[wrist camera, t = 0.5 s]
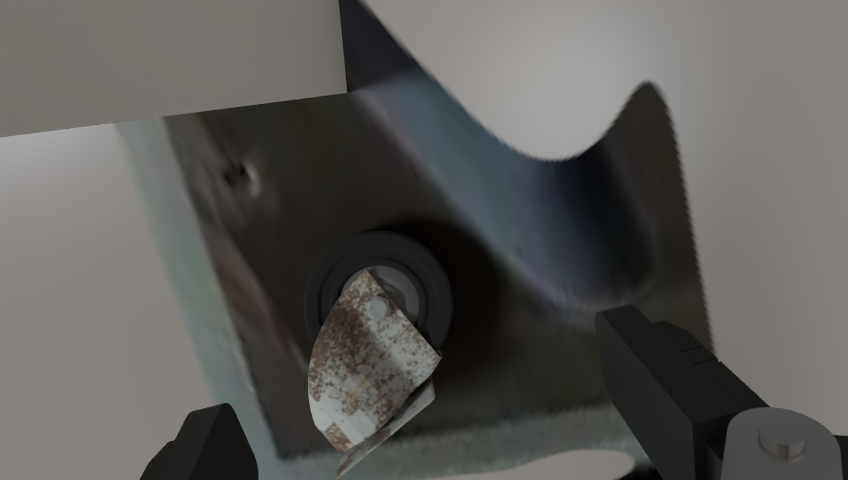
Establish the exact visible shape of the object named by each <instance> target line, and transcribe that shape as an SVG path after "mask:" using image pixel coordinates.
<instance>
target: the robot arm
mask: <svg viewBox="0 0 848 480" xmlns="http://www.w3.org/2000/svg"><path fill="white" fill-rule="evenodd" d="M595 324H596V332H597V339H598V347H599V355H600V362H601V370H602V376H603V380H604V383H605V386H606V389H607V392H608V394H609V396H610V398H611V400H612V402H613V404H614V405H615V407H616V408H617V410H618V411H619V413H620V414H621V416H622V417H623V419H624V420H625V422H626V423H627V425H628V426H629V428H630V430H631V431H632V433H633V434H634V436H635V437H636V439H637V440H638V442H639V443H640V445H641V446H642V448H643V449H644V451H645V452H646V454H647V455H648V457H649V459H650V460H651V462H652V463H653V465H654V466H655V468H656V469H657V471H658V472H659V474H660V475H661V477H662V478H663V480H848V436H839V435H833V434H832V433H831V432H830V431H829V430H828V429H827V428H826V427H825V426H823V425H821V424H820V423H819V422H817V421H815V420H814V419H812V418H810V417H808V416H805V415H803V414H801V413H797V412H794V411H791V410H786V409H782V408H772V407H769V406H768V405H767V404H766V403H765V402H764V401H763V400H762V399H761V398H760V397H759V396H758V395H757V394H755V393H754V392H753V391H752V390H751V389H750V388H749V387H748V386H747V385H746V384H745V383H743V382H742V381H741V380H740V379H739V378H738V377H737V376H736V375H735V374H734V373H733V372H732V371H731V370H729V369H728V368H727V367H726V366H725V365H724V364H723V363H722V362H721V361H720V362H718V359H717V357H715V356H714V355H713V354H712V353H711V352H710V351H709V350H708V349H705V348H704V345H702V344H701V343H700V342H699V341H698V340H697V339H696V338H695V337H694V336H693V335H692V334H691V333H689V332H688V331H687V330H685V329H682V328H680V327H678V326H676V325H673V324H671V323H669V322H666V321H660V322H656V323H651V322H650V321H649V320H648V319H647V318H646V317H645V316H644V315H643V314H642V313H641V312H640V311H639V310H638V309H637V308H636V307H635V306H634V305H632V304H628V305H624V306H620V307H616V308H612V309H608V310H604V311H600V312H597V313H596V315H595ZM140 480H258V467H257V462H256V459H255V456H254V454H253V451H252V449H251V447H250V445H249V442H248V440H247V438H246V436H245V434H244V431H243V429H242V427H241V425H240V422H239V420H238V418H237V416H236V413H235V411H234V409H233V408H232V406H231V405H229V404H228V403H224V404H220V405H216V406H212V407H208V408H204V409H200V410H195V411H192V412H190V413H189V414H188V416H187V417H186V419H185V421H184V423H183V425H182V427H181V429H180V431H179V433H178V435H177V437H176V439H175V440H174V441H170V442H168V443H167V444H166V445H165V446H164V447H163V448H162V449H161V450H160V451H159V452H158V454H157V455H156V456H155V457H154V458H153V459H152V460H151V461H150V462H149V463H148V465H147V467H146V469H145V471H144V472H143V474H142V476H141V478H140Z"/></svg>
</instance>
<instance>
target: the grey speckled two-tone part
mask: <svg viewBox="0 0 848 480" xmlns="http://www.w3.org/2000/svg"><path fill="white" fill-rule="evenodd" d="M304 316H305V321H306V326H307V329H308V332H309V334H310V336H311V338H312V341H313V343H314V344H315V345H314V348H313V352H312V356H311V360H310V366H309V375H308V393H309V402H310V408H311V412H312V416H313V420H314V423H315V425H316V426H317V428H318V429H319V430H320V431H321V432H322V433H323V434H324V436H325V437H326V438H327V439H328V440H329V441H330V443H331V444H332V445H333V446H334V447H335V448H336V449H337V451H343V453H342V456H341V460H340V463H339V467H338V471H337V474H336V478H335V480H336V479H338V478H340V477H341V476H342V475H344V474H345V473H346V472H347V471H348V470H350V469H351V468H352V467H353V466H355V465H356V464H357V463H358V462H359V461H361V460H362V459H363V458H364V457H365V456H367V455H368V454H369V453H370V452H372V451H373V450H374V449H375V448H376V447H378V446H379V445H380V444H381V443H382V442H384V441H385V440H386V439H387V438H389V437H390V436H391V435H392V434H393V433H395V432H396V431H397V430H398V429H400V428H401V427H402V426H403V425H404V424H406V423H407V422H408V421H409V420H410V419H412V418H413V417H414V416H415V415H417V414H418V413H419V412H420V411H421V410H423V409H424V408H425V407H426V406H427V405H429V404H430V403H431V402H432V401H433V400H434V398H435V393H434V387H433V381H432V374H431V373H432V372H433V371H434V369H435V368H436V366H437V365H438V363H439V361H440V360H441V358H442V354H441V352H440V350H439V349H440V347H441V345H442V344H443V342H444V340H445V339H446V337H447V334H448V332H449V328H450V325H451V322H452V316H453V295H452V290H451V286H450V282H449V279H448V277H447V275H446V272H445V270H444V269H443V267H442V266H441V264H440V262H439V261H438V259H437V258H436V257H435V256H434V255H433V253H432V252H431V251H430V250H429V249H428V248H426V247H425V246H424V245H423V244H421V243H420V242H418V241H416V240H415V239H413V238H411V237H409V236H407V235H404V234H402V233H397V232H392V231H379V230H378V231H368V232H363V233H359V234H356V235H353V236H351V237H349V238H346V239H344V240H343V241H341V242H339V243H338V244H336V245H334V246H333V247H332V248H331V249H330V250H329V251H328V252H327V253H325V254H324V255H323V256H322V257H321V259H320V260H319V262H318V263H317V264H316V266H315V267H314V269H313V271H312V273H311V275H310V277H309V279H308V282H307V285H306V289H305V294H304Z"/></svg>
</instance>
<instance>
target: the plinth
mask: <svg viewBox="0 0 848 480" xmlns="http://www.w3.org/2000/svg"><path fill="white" fill-rule="evenodd" d="M341 93H347V85H346V74H345V64H344V53H343V42H342V31H341V21H340V10H339V0H0V137H7V136H14V135H22V134H30V133H38V132H45V131H53V130H61V129H69V128H76V127H83V126H92V125H100V124H108V123H115V122H123V121H131V120H139V119H146V118H154V117H162V116H170V115H177V114H185V113H193V112H201V111H209V110H216V109H224V108H232V107H240V106H247V105H255V104H263V103H271V102H278V101H286V100H294V99H302V98H310V97H317V96H325V95H333V94H341Z"/></svg>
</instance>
